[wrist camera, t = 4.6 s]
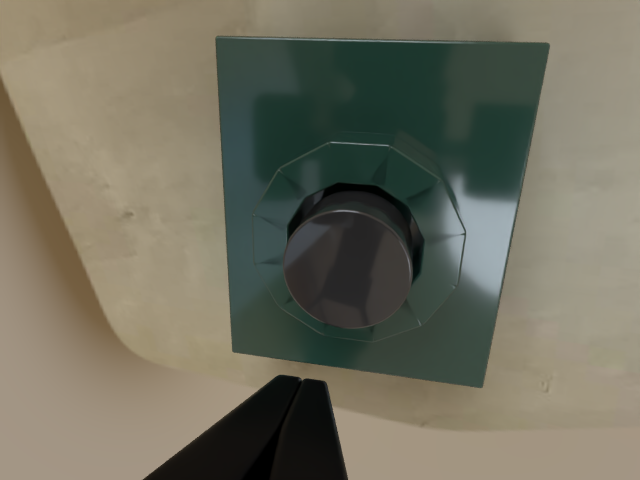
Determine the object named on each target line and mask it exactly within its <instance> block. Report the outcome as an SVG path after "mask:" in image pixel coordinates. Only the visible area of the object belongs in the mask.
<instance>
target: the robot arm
mask: <svg viewBox="0 0 640 480" xmlns="http://www.w3.org/2000/svg"><path fill="white" fill-rule="evenodd" d="M143 480H348V477H347V472H346V468H345V463H344V458H343V454H342V450H341V445H340V441H339V436H338V432H337V427H336V423H335V418H334V413H333V409H332V404H331V400H330V395H329V391H328V386H327V384H326V382H325V381H321V380H314V379H304V380H303V381H302V380H301V378H299V377H294V376H287V375H278V376H276V377H275V378H274V379H272V380H271V381H270V382H269V383H267V384H266V385H265V386H263V387H262V388H261V389H259V390H258V391H257V392H256V393H254V394H253V395H252V396H250V397H249V398H248V399H246V400H245V401H244V402H243V403H241V404H240V405H239V406H238V407H236V408H235V409H234V410H232V411H231V412H230V413H228V414H227V415H226V416H224V417H223V418H222V419H221V420H219V421H218V422H217V423H215V424H214V425H213V426H212V427H210V428H209V429H208V430H206V431H205V432H204V433H202V434H201V435H200V436H199V437H197V438H196V439H195V440H193V441H192V442H191V443H190V444H188V445H187V446H186V447H184V448H183V449H182V450H181V451H179V452H178V453H177V454H175V455H174V456H173V457H172V458H170V459H169V460H168V461H166V462H165V463H164V464H162V465H161V466H160V467H158V468H157V469H156V470H155V471H153V472H152V473H151V474H149V475H148V476H147V477H146V478H144V479H143Z"/></svg>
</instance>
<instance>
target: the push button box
mask: <svg viewBox="0 0 640 480" xmlns="http://www.w3.org/2000/svg"><path fill="white" fill-rule="evenodd" d="M215 40H216V59H217V77H218V96H219V114H220V133H221V151H222V170H223V188H224V207H225V225H226V244H227V262H228V281H229V299H230V318H231V336H232V351H233V352H234V353H241V354H248V355H255V356H262V357H269V358H276V359H283V360H290V361H297V362H304V363H311V364H318V365H325V366H331V367H338V368H345V369H352V370H359V371H366V372H373V373H380V374H387V375H394V376H401V377H408V378H415V379H422V380H429V381H435V382H442V383H449V384H456V385H463V386H470V387H477V388H482V387H483V384H484V379H485V374H486V369H487V364H488V359H489V354H490V349H491V344H492V339H493V334H494V328H495V323H496V318H497V313H498V308H499V303H500V298H501V293H502V288H503V283H504V278H505V273H506V267H507V262H508V257H509V252H510V247H511V242H512V237H513V232H514V227H515V222H516V217H517V212H518V207H519V201H520V196H521V191H522V186H523V181H524V176H525V171H526V166H527V161H528V156H529V151H530V146H531V140H532V135H533V130H534V125H535V120H536V115H537V110H538V105H539V100H540V95H541V90H542V85H543V80H544V74H545V69H546V64H547V59H548V54H549V49H550V44H549V43H542V42H493V41H445V40H396V39H348V38H300V37H251V36H217V37H216V39H215ZM347 190H359V191H366V192H370V193H373V194H376V195H378V196H380V197H382V198H384V199H386V200H387V201H389V202H390V203H391V204H393V205H394V206H395V207H396V208H397V209H398V210H399V211H400V212H401V214H402V215H403V216H404V218H405V219H406V221H407V223H408V225H409V228H410V230H411V234H412V238H413V279H412V284H411V288H410V291H409V294H408V296H407V298H406V300H405V301H404V303H403V304H402V305H401V307H400V308H399V309H398V310H397V311H396V312H395V313H394V314H393V315H391V316H390V317H389V318H387V319H385V320H384V321H382V322H380V323H378V324H375V325H372V326H369V327H364V328H355V329H348V328H340V327H334V326H331V325H328V324H325V323H323V322H321V321H319V320H317V319H315V318H313V317H312V316H311V315H309V314H308V313H306V312H305V311H304V310H303V309H302V308H301V307H300V306H299V305H298V304H297V302H296V301H295V300H294V298H293V297H292V295H291V294H290V292H289V290H288V288H287V285H286V282H285V279H284V274H283V256H284V251H285V248H286V245H287V242H288V240H289V239H290V237H291V235H292V234H293V232H294V231H295V230H296V228H297V227H298V225H299V224H300V223H301V221H302V220H303V218H304V217H305V216H306V214H307V213H308V211H309V210H310V209H311V208H312V207H313V206H314V205H315V204H316V203H317V202H318V201H320V200H321V199H323V198H325V197H326V196H328V195H331V194H333V193H336V192H340V191H347Z"/></svg>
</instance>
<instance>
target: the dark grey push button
mask: <svg viewBox="0 0 640 480" xmlns="http://www.w3.org/2000/svg"><path fill="white" fill-rule="evenodd" d="M283 274H284V279H285V282H286V285H287V288H288V290H289V292H290V294H291V295H292V297H293V298H294V300H295V301H296V302H297V304H298V305H299V306H300V307H301V308H302V309H303V310H304V311H305V312H306V313H308V314H309V315H311V316H312V317H313V318H315V319H317V320H319V321H321V322H323V323H325V324H328V325H331V326H334V327H340V328H348V329H355V328H364V327H369V326H372V325H375V324H378V323H380V322H382V321H384V320H385V319H387V318H389V317H390V316H391V315H393V314H394V313H395V312H396V311H397V310H398V309H399V308H400V307H401V305H402V304H403V303H404V301H405V300H406V298H407V296H408V294H409V291H410V288H411V284H412V279H413V238H412V234H411V230H410V228H409V225H408V223H407V221H406V219H405V218H404V216H403V215H402V214H401V212H400V211H399V210H398V209H397V208H396V207H395V206H394V205H393V204H391V203H390V202H389V201H387V200H386V199H384V198H382V197H380V196H378V195H376V194H373V193H370V192H366V191H359V190H347V191H340V192H336V193H333V194H331V195H328V196H326V197H325V198H323V199H321V200H320V201H318V202H317V203H316V204H315V205H314V206H313V207H312V208H311V209H310V210H309V211H308V213H307V214H306V216H305V217H304V218H303V220H302V221H301V223H300V224H299V225H298V227H297V228H296V230H295V231H294V232H293V234H292V235H291V237H290V239H289V240H288V242H287V245H286V248H285V251H284V256H283Z"/></svg>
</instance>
